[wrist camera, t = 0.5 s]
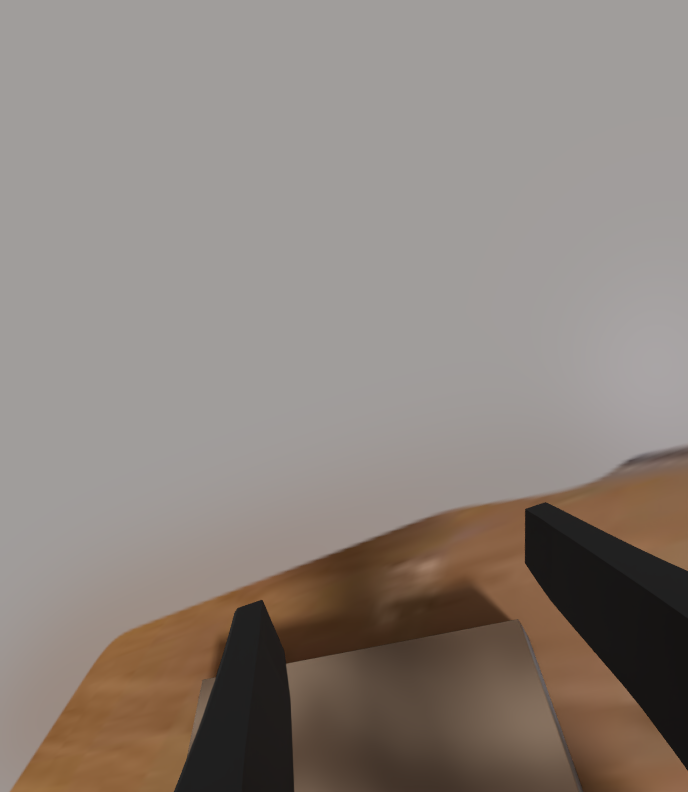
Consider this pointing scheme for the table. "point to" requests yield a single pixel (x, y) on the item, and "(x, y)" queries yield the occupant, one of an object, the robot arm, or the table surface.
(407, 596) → the table surface
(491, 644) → the brown grey rectangular block
